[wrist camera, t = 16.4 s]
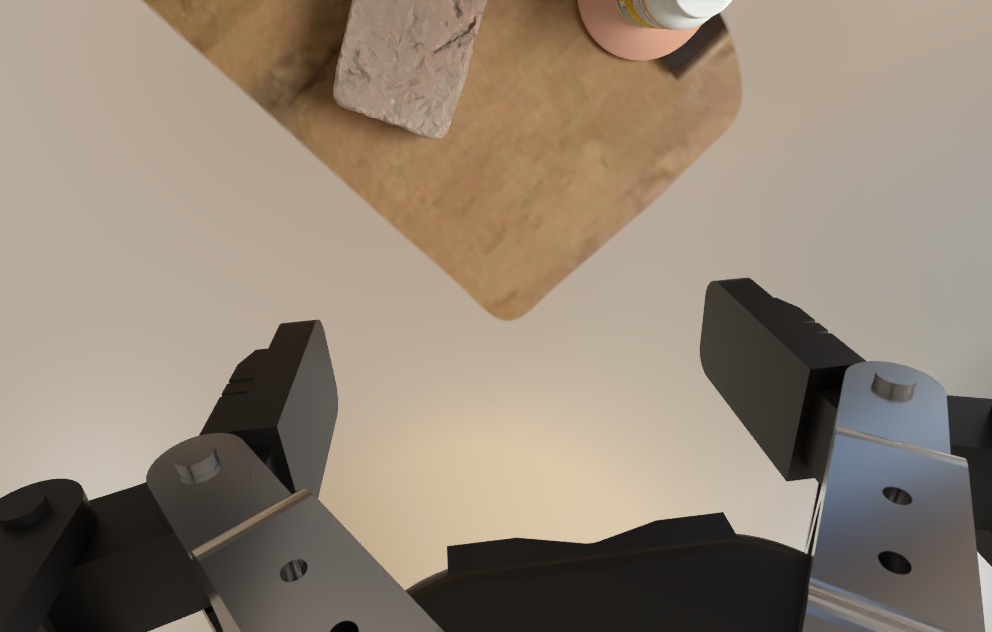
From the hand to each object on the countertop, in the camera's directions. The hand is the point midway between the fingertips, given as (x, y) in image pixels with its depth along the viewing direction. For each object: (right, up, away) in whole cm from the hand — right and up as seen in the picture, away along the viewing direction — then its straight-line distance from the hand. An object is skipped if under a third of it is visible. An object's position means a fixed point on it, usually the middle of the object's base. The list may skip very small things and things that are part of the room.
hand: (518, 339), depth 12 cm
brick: (-6, +22, +29) cm, 37 cm away
